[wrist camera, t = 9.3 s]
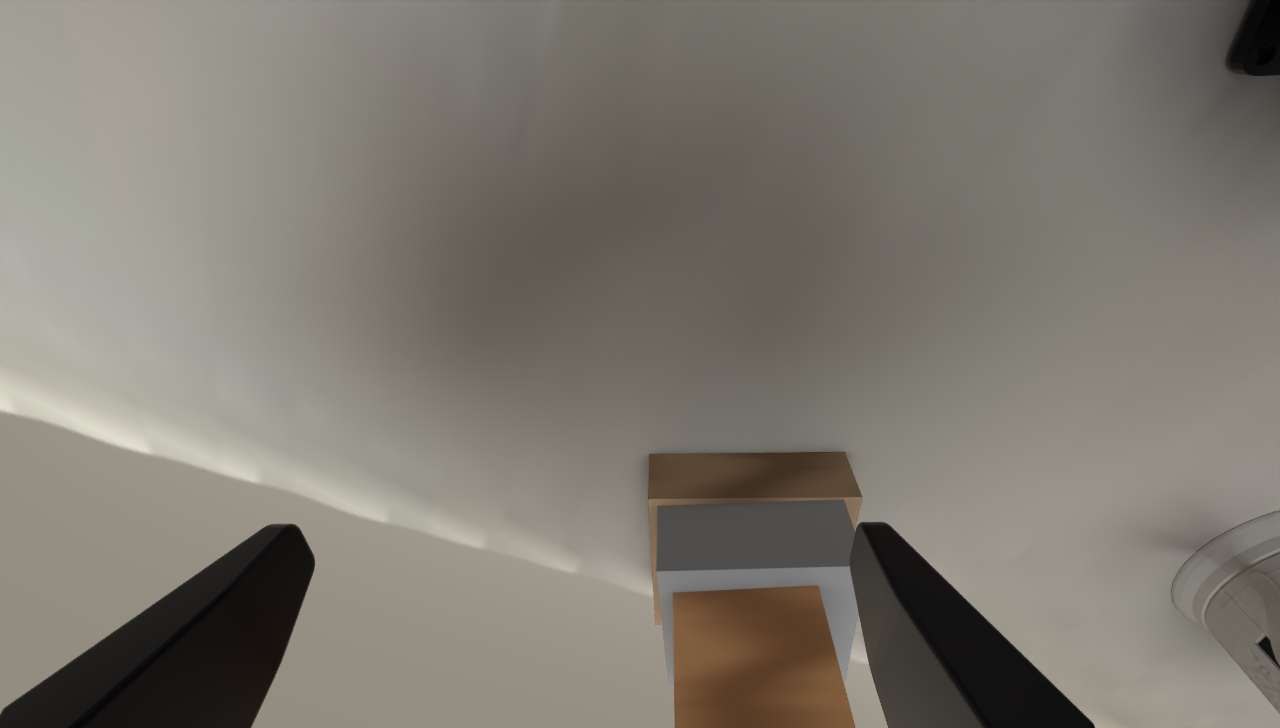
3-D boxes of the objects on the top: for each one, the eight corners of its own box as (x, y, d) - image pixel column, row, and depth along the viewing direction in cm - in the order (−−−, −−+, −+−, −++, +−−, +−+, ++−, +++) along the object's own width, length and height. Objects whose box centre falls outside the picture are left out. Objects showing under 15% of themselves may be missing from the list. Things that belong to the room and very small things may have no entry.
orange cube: (818, 585, 20) (859, 744, 16) (813, 666, 23) (848, 821, 18) (672, 592, 20) (675, 749, 16) (685, 671, 23) (690, 823, 19)
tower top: (843, 499, 22) (867, 566, 19) (827, 613, 26) (845, 681, 23) (657, 505, 22) (656, 571, 20) (668, 616, 26) (668, 683, 24)
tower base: (841, 444, 24) (862, 497, 22) (819, 569, 29) (833, 625, 26) (649, 446, 25) (648, 498, 22) (656, 569, 29) (655, 624, 26)
